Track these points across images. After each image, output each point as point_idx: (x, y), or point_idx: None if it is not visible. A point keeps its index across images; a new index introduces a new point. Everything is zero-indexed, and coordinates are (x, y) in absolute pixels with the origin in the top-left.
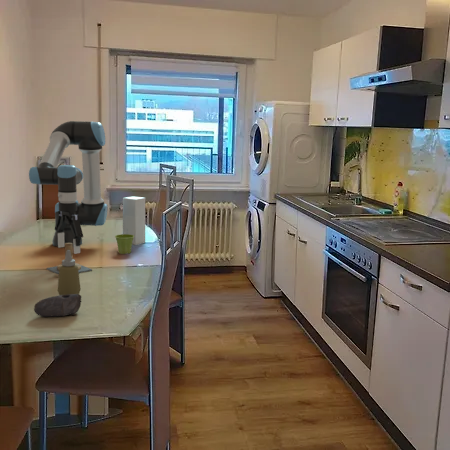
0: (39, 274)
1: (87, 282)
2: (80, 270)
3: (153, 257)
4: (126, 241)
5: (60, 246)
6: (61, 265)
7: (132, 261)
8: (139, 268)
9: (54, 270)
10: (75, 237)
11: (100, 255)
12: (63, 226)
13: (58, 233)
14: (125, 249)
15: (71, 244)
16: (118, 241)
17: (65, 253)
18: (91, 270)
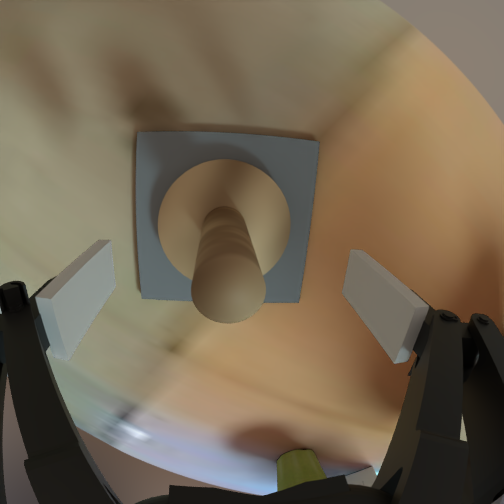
0: (252, 63)
1: (8, 183)
2: (153, 247)
3: (193, 474)
4: (280, 490)
5: (351, 264)
6: (262, 200)
7: (185, 439)
8: (94, 409)
9: (242, 142)
10: (1, 303)
11: (330, 411)
12: (408, 404)
13: (414, 306)
14: (281, 467)
15: (192, 298)
16: (307, 479)
17: (228, 228)
18: (142, 293)
